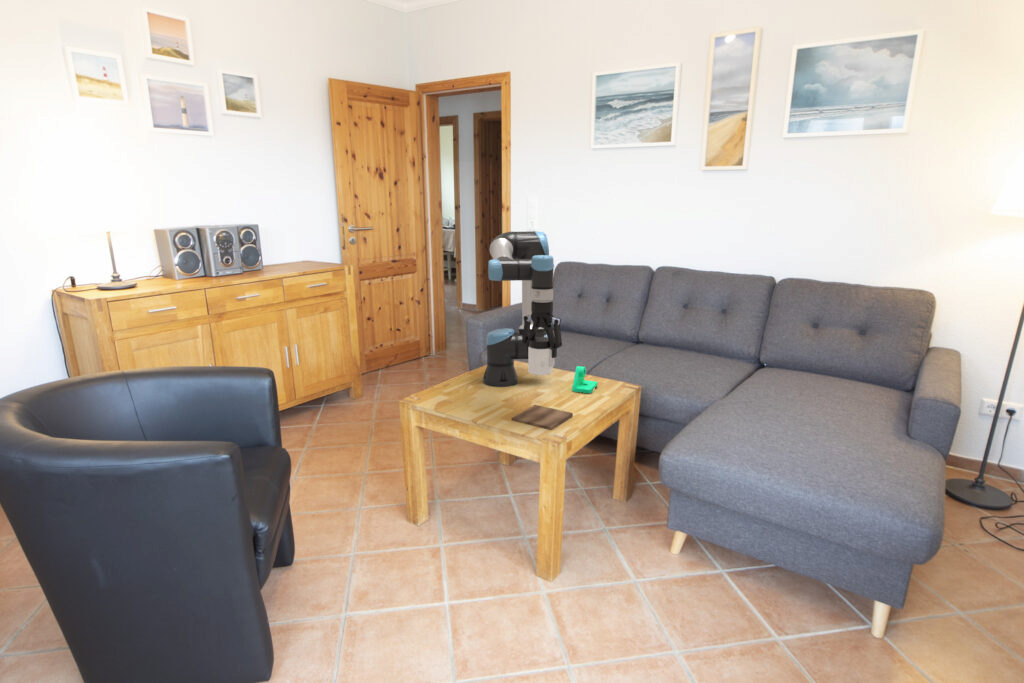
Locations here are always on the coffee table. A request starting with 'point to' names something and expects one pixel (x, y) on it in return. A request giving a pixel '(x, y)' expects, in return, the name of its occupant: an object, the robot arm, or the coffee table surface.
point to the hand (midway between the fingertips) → (541, 364)
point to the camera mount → (582, 381)
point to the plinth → (543, 417)
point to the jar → (539, 356)
